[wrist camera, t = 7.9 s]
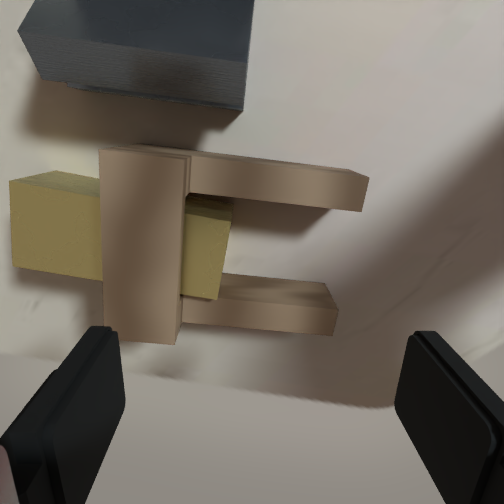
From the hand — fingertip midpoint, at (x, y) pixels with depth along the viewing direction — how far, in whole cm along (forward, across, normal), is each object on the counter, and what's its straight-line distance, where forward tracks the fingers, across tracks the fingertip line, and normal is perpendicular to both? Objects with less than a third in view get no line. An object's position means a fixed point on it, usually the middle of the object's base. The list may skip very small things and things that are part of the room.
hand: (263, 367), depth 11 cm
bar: (+15, +8, -1) cm, 17 cm away
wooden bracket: (+14, +1, 0) cm, 14 cm away
